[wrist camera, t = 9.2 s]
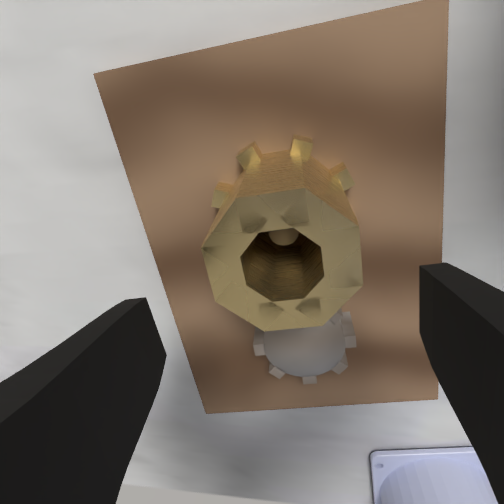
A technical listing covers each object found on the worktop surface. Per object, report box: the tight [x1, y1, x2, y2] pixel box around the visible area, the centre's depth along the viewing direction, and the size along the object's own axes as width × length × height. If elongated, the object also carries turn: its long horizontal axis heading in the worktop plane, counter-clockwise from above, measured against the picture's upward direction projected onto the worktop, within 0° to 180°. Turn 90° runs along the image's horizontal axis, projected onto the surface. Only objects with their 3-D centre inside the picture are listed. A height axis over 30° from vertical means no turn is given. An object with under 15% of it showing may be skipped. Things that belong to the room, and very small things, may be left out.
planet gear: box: [201, 134, 364, 332], centre depth 15 cm, size 6×6×6 cm
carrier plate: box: [93, 0, 449, 414], centre depth 18 cm, size 20×14×4 cm
